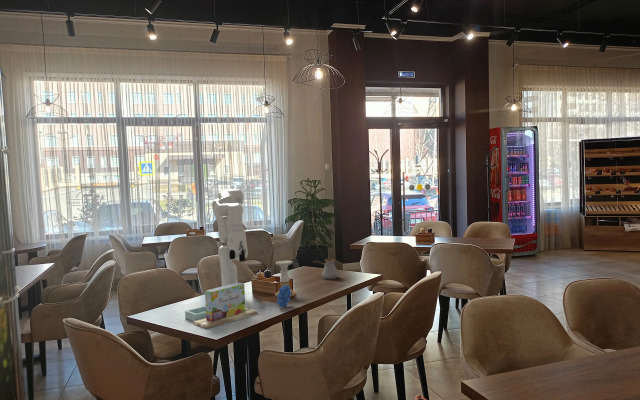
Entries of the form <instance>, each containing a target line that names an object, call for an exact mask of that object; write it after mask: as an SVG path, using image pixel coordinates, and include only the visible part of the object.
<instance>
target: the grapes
mask: <svg viewBox="0 0 640 400" xmlns="http://www.w3.org/2000/svg"><path fill="white" fill-rule="evenodd" d="M290 289H291V287H290V285H289V286H287V285H286V284H285V285H283V287H282V286H281V287H280V288H279V289H278V291H279V292H280V293H278V294H277V297H276V298H277V300H276V304H277V305H279V308H281V309H282V308H283V307H284V308H286V307H287V306H288V303H290V302H291V297H289V296H291V294H292V293H291V291H290Z"/></svg>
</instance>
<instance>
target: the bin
mask: <svg viewBox="0 0 640 400" xmlns="http://www.w3.org/2000/svg"><path fill="white" fill-rule="evenodd" d="M184 313H185V315H184V316H185V318H184V319H185V320H188V321H191V322H193V323H194V321H196V320H200V319H203V318H206V305H204V306H198V307H195V308H191V309H188V310H185V311H184Z"/></svg>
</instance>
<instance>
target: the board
mask: <svg viewBox="0 0 640 400" xmlns="http://www.w3.org/2000/svg"><path fill="white" fill-rule="evenodd" d="M252 315H253V316H256V315H259V311H258V310H255V309H251V308H247V307H245V312H242V313H239V314H236V315H233V316H229V317H226V318H223V319H220V320H217V321H214V322H211V321H208V320H206V318H203V319H200V320H196V321H194V322H193V325H195V326H197V325H198V327H200V326H201V328H202V327H204V328H203V329H205V328H208V329H210V328H209V327H211V328H214V326H215V327H218V326H221V325H225V324H228V323H231V322H234V321H238V319H239V320H242V319H246V318H249V317H252ZM245 317H246V318H245ZM224 323H225V324H224ZM217 325H218V326H217Z"/></svg>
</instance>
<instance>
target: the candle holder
mask: <svg viewBox="0 0 640 400" xmlns="http://www.w3.org/2000/svg"><path fill="white" fill-rule="evenodd" d="M274 264H275V265H276V266H279V267H280V269H281V270H280V271H279V272H280V280H279V281H280V284H279V285H280V286H281V287H283V285H285V284H286V285H287V286H290V285H291V283H290V282H289V281H290V276H289V270H288V267H289V265H293V260H290V259H289V260H287V259H285V260H284V259H283V260H278V261H275V263H274ZM290 291H291V293H292V294H291V296H289V297H290V298H292V297H295V296H296V294H297V292H296V291H295V290H293V289H291V288H290ZM278 293H280V292H279V290H278V291H277V292H276V293H274V295H275V297H276V298H277V294H278Z"/></svg>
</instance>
